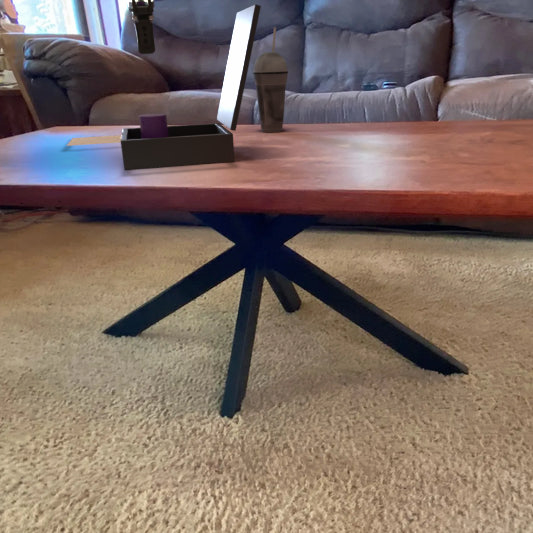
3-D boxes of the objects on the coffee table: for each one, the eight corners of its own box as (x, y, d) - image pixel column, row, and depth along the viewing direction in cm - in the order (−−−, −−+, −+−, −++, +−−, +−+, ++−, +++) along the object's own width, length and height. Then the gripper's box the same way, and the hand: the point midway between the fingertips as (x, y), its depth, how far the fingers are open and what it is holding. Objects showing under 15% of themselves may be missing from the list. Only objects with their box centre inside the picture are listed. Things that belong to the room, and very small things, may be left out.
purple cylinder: (144, 162, 76) (138, 117, 73) (144, 157, 80) (138, 114, 77) (171, 160, 77) (167, 115, 74) (169, 155, 80) (165, 112, 78)
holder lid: (255, 3, 67) (261, 5, 67) (236, 12, 79) (241, 13, 80) (230, 129, 72) (235, 131, 73) (216, 119, 85) (221, 120, 85)
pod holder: (125, 175, 71) (120, 140, 70) (126, 158, 84) (122, 128, 82) (234, 167, 75) (233, 133, 73) (220, 151, 87) (219, 122, 85)
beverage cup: (250, 130, 111) (246, 28, 103) (281, 127, 113) (279, 28, 105) (261, 134, 104) (258, 26, 97) (294, 131, 107) (293, 26, 99)
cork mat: (64, 151, 92) (64, 148, 92) (73, 139, 105) (72, 137, 105) (143, 145, 95) (143, 143, 95) (142, 135, 108) (142, 133, 108)
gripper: (104, -70, 72) (120, 55, 78) (97, -98, 59) (117, 54, 65) (158, -69, 73) (170, 53, 79) (163, -97, 60) (176, 52, 66)
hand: (146, 53), depth 72 cm, fingers open, 8 cm apart
